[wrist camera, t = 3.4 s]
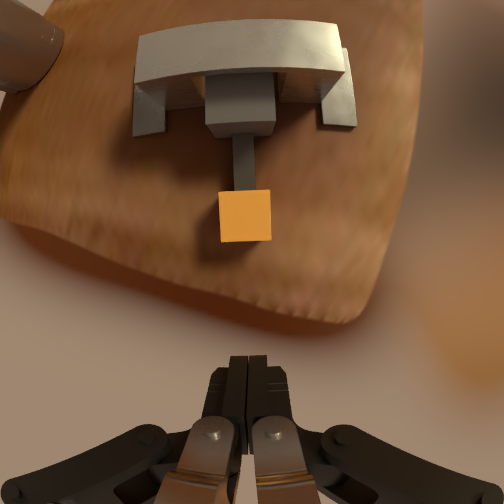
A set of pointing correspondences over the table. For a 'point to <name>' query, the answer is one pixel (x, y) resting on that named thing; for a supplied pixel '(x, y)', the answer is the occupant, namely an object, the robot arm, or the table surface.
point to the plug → (242, 148)
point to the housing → (242, 67)
